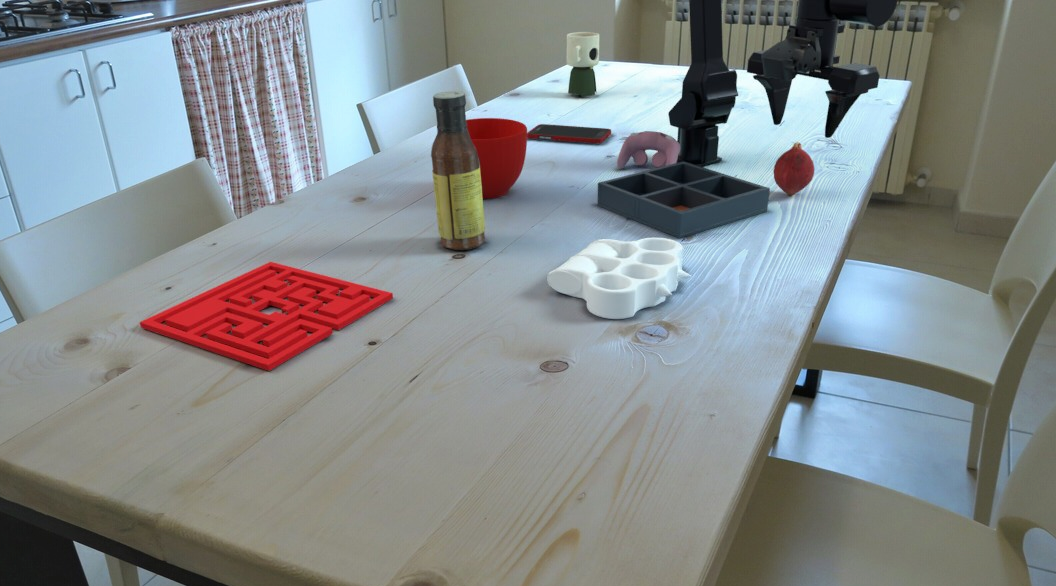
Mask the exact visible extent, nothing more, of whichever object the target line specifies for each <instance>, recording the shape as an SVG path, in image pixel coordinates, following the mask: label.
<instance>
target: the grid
mask: <svg viewBox="0 0 1056 586" xmlns="http://www.w3.org/2000/svg"><path fill="white" fill-rule="evenodd" d="M770 191H771V188H770V187H767V186H763V185H761V184H758V183H754V182H751V181H747V180H744V179H741V178H738V177H735V176H732V175H728V174H725V173H722V172H720V171H716V170H713V169H709V168H706V167H704V166H697V165H694V164H690V163H687V162H684V161H683V162H676V163H675V164H671V165H667V166H666V165H665V166H663V167H659V168H657V167H655V168H651V169H648V170H643V171H639V172H635V173H631V174H627V175H624V176H620V177H615V178H611V179H607V180H603V181H600V182H599V181H598V182H597V201H596V202H597V203H596V204H597V206H598V207H601V208H603V209H605V210H608V211H610V212H613V213H615V214H618V215H621V216H623V217H626V218H628V219H631V220H632V221H635V222H637V223H640V224H643V225H645V226H648V227H650V228H653V229H655V230H658V231H660V232H663V233H666V234H667V235H670V236H673V237H675V238H678V239H682V238H685V237H688V236H692V235H695V234H698V233H702V232H705V231H709V230H711V229H715V228H718V227H721V226H725V225H727V224H731V223H734V222H737V221H741V220H744V219H747V218H751V217H754V216H756V215H761V214H763V213H766V212H768V208H769V207H768V206H769V199H770Z"/></svg>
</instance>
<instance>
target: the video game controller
mask: <svg viewBox="0 0 1056 586" xmlns="http://www.w3.org/2000/svg"><path fill="white" fill-rule="evenodd" d="M646 151H656V152H655V153H653V155H652V157H651V164H652V165H653V166H654V167H655V168H659V167H663V166H667V165H671V164H675V163H678V162H677V159H678V154H679V152H680V144H679V143H678V141H677V139H676V138H674V137H673V135H672V136H671V135H669V134H667V133H663V132H661V131H651V130H645V131H639V132H632V133H630V134H629V135H628V136H627V137H626V138H625V139H624V141H623V143H622V146H621V148H620V150H619V154H618V156H617V162H616V165H617V168H618V170H622V169H624V168H625V167H626V165H627V164H628V162H629V160H630V159H631V158H632V159H633V162H634V164H635V165H636V166H639V167H644V166H645V165H646V164H647V163H648V162H649V156H648V153H647V152H646Z"/></svg>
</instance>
